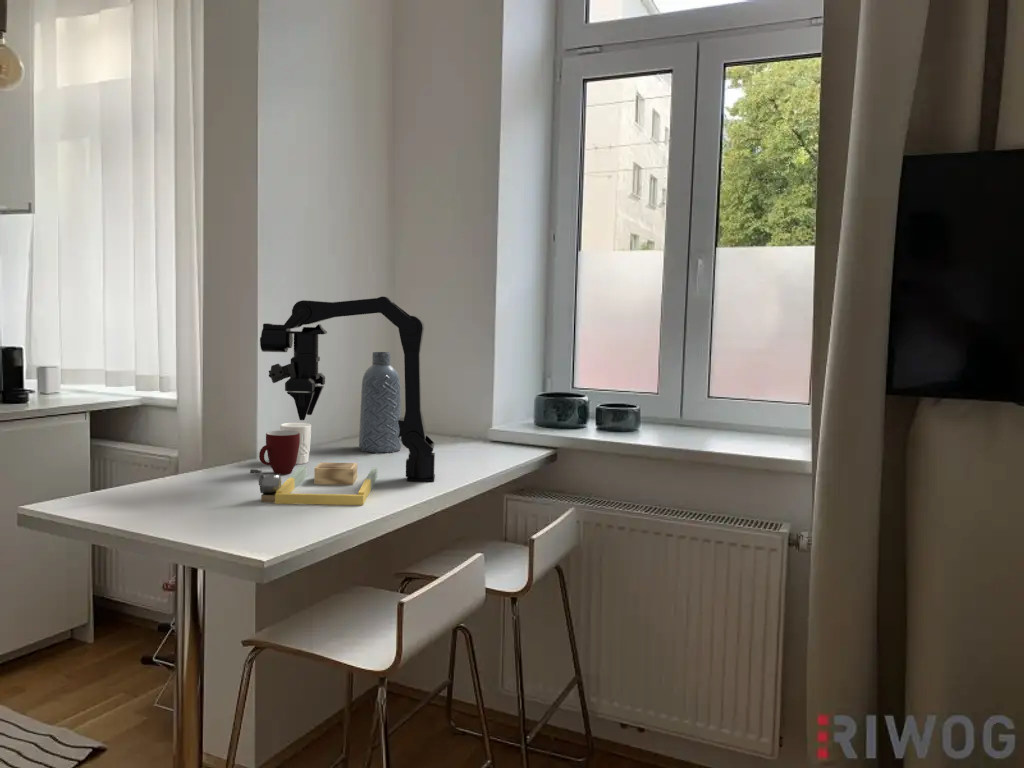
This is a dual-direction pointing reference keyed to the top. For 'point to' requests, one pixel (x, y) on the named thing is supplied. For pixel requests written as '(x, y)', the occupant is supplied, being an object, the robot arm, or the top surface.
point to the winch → (268, 485)
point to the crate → (335, 473)
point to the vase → (380, 407)
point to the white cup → (304, 439)
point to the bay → (287, 497)
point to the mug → (281, 450)
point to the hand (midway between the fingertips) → (305, 417)
